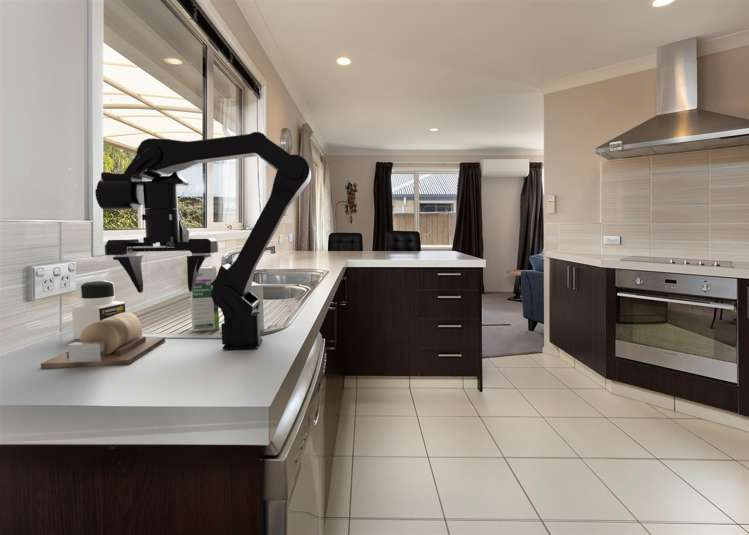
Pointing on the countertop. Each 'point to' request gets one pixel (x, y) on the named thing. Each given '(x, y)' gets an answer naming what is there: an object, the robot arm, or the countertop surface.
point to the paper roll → (113, 331)
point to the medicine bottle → (95, 305)
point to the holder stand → (102, 353)
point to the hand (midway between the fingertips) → (166, 291)
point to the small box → (258, 292)
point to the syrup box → (204, 301)
